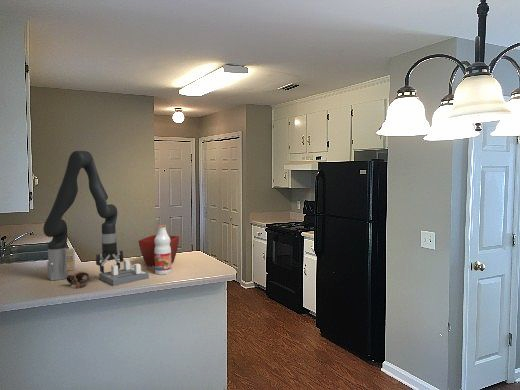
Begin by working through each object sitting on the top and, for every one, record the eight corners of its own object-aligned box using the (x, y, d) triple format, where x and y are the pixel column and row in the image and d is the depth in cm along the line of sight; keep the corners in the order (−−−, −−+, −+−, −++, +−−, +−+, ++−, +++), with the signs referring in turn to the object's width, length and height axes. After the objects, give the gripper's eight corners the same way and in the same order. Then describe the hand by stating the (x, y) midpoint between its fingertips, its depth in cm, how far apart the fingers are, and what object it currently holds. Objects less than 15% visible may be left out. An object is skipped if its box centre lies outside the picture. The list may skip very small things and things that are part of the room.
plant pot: (166, 269, 255) (165, 241, 254) (138, 267, 260) (137, 240, 258) (180, 261, 273) (179, 236, 272) (154, 260, 278) (153, 235, 277)
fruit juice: (174, 271, 248) (173, 224, 246) (165, 275, 239) (163, 226, 237) (161, 270, 252) (160, 223, 250) (151, 274, 243) (150, 225, 241)
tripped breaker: (113, 275, 229) (113, 266, 228) (111, 274, 231) (111, 265, 230) (118, 274, 230) (117, 265, 230) (115, 273, 233) (115, 264, 232)
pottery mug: (91, 283, 228) (92, 271, 224) (86, 295, 220) (87, 284, 216) (67, 279, 226) (69, 267, 222) (61, 291, 217) (63, 279, 214)
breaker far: (126, 270, 240) (125, 261, 240) (123, 269, 242) (123, 260, 242) (130, 269, 242) (130, 260, 241) (128, 268, 244) (127, 259, 244)
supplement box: (59, 271, 252) (58, 250, 251) (60, 269, 257) (59, 248, 256) (74, 270, 254) (73, 249, 253) (75, 268, 259) (74, 247, 258)
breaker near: (136, 274, 231) (136, 265, 230) (134, 273, 233) (133, 264, 232) (140, 273, 232) (140, 264, 232) (138, 272, 234) (138, 263, 234)
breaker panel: (113, 285, 220) (113, 280, 220) (99, 278, 235) (99, 273, 234) (148, 278, 234) (148, 273, 234) (133, 272, 248) (133, 267, 248)
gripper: (98, 244, 220) (100, 274, 221) (124, 240, 230) (125, 270, 231) (93, 242, 226) (94, 272, 227) (118, 239, 235) (120, 267, 236)
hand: (110, 271), depth 229 cm, fingers open, 8 cm apart
